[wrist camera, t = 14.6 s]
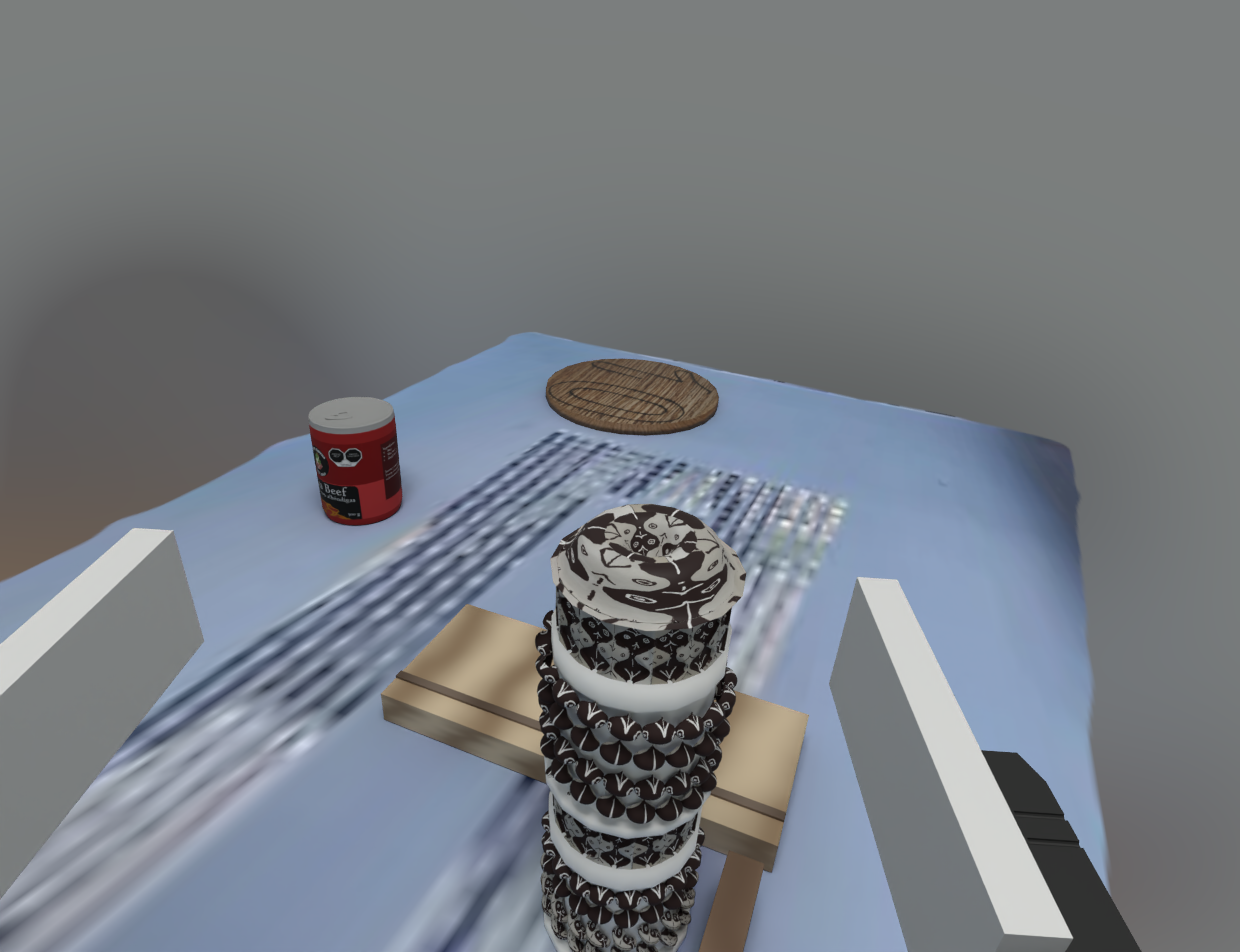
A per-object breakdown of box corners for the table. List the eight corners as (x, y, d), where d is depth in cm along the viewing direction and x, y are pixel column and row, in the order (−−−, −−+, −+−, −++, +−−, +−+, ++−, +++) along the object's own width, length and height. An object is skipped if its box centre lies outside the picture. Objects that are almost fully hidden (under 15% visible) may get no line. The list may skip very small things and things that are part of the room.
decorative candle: (517, 854, 44) (511, 494, 32) (659, 813, 47) (702, 470, 35) (559, 1016, 37) (571, 627, 25) (724, 955, 40) (807, 581, 28)
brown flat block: (689, 997, 38) (697, 954, 36) (719, 893, 43) (728, 849, 41) (727, 1015, 37) (737, 972, 35) (753, 907, 42) (764, 863, 40)
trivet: (589, 359, 122) (590, 348, 121) (736, 389, 114) (737, 377, 113) (514, 413, 101) (513, 400, 100) (686, 453, 93) (688, 440, 92)
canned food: (310, 505, 77) (294, 408, 72) (380, 481, 82) (370, 390, 77) (344, 536, 72) (329, 435, 67) (416, 509, 77) (408, 414, 72)
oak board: (384, 719, 52) (380, 691, 51) (468, 627, 61) (466, 602, 60) (771, 872, 44) (778, 844, 43) (802, 739, 53) (809, 713, 52)
